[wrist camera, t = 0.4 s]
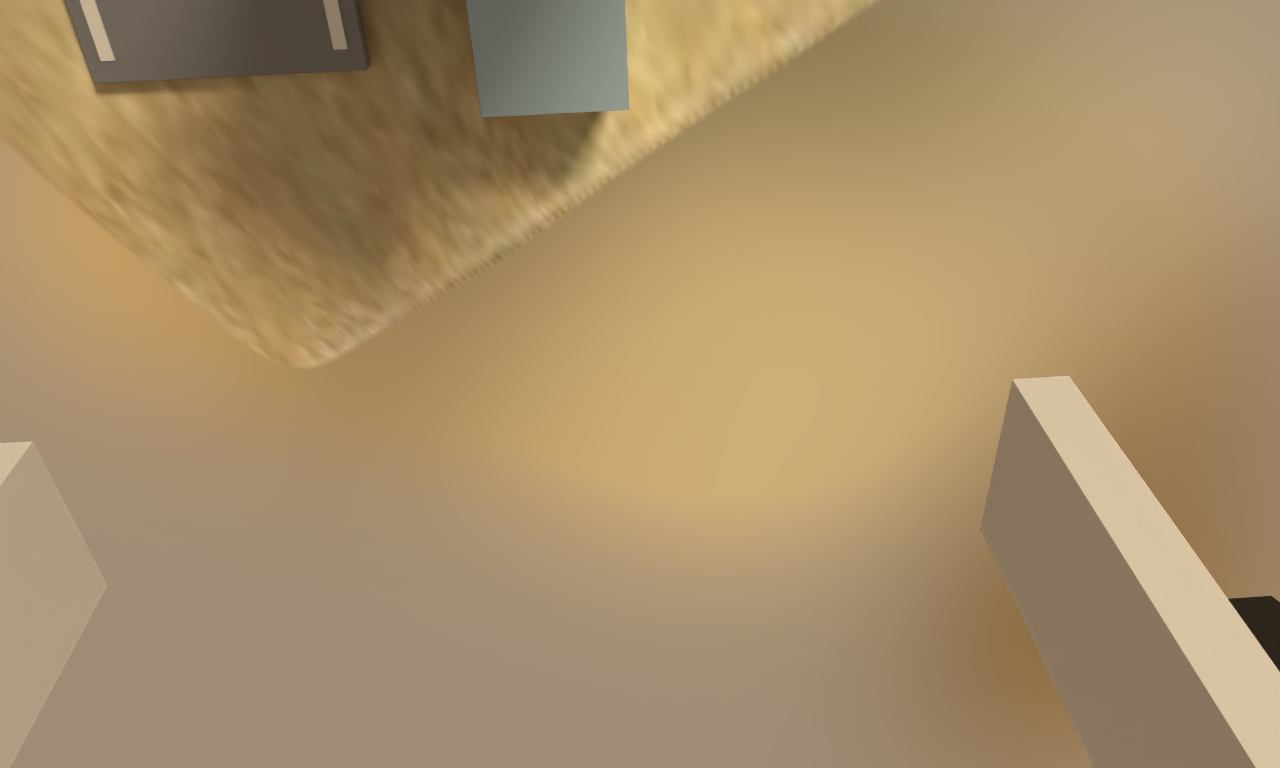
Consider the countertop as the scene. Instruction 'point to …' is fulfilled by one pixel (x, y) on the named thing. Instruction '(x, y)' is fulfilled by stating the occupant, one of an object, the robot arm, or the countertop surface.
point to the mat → (217, 38)
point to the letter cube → (549, 56)
